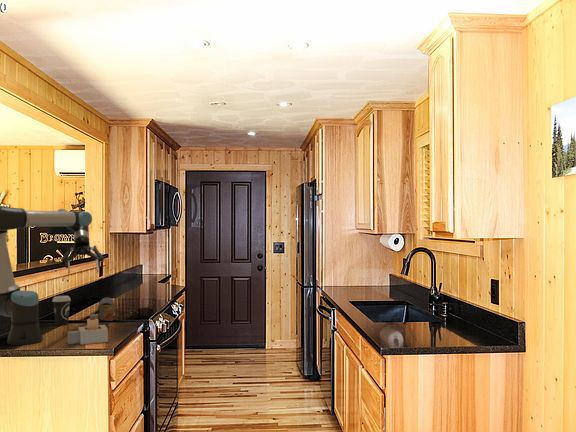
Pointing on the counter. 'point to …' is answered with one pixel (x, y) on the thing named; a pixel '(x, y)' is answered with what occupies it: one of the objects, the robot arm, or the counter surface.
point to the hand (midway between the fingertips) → (83, 271)
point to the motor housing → (88, 335)
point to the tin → (108, 312)
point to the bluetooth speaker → (106, 302)
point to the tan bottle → (92, 322)
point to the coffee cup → (61, 309)
